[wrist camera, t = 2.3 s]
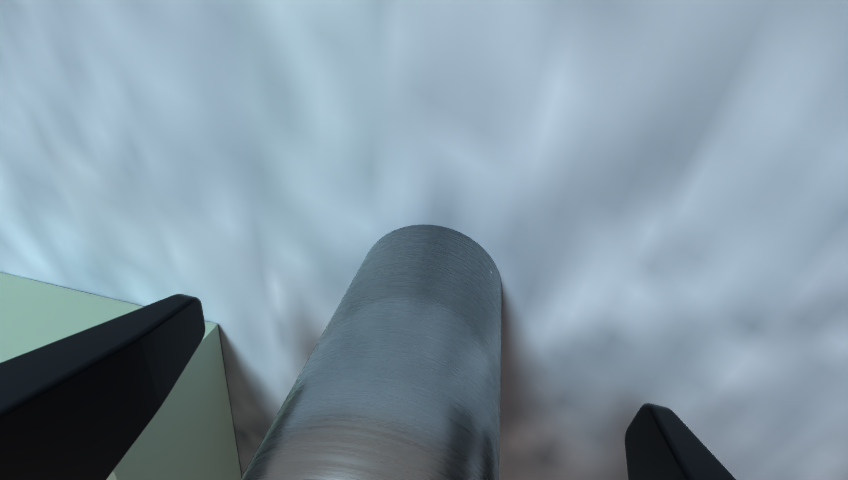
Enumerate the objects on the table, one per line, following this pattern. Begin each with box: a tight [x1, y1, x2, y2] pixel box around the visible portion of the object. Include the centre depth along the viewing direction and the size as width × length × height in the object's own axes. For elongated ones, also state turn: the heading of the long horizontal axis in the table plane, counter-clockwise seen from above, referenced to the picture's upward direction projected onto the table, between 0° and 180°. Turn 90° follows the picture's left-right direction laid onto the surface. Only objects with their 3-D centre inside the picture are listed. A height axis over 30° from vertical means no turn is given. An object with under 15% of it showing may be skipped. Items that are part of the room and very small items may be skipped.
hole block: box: [0, 272, 241, 480], centre depth 14 cm, size 12×12×4 cm
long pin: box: [241, 225, 502, 480], centre depth 7 cm, size 4×4×8 cm
